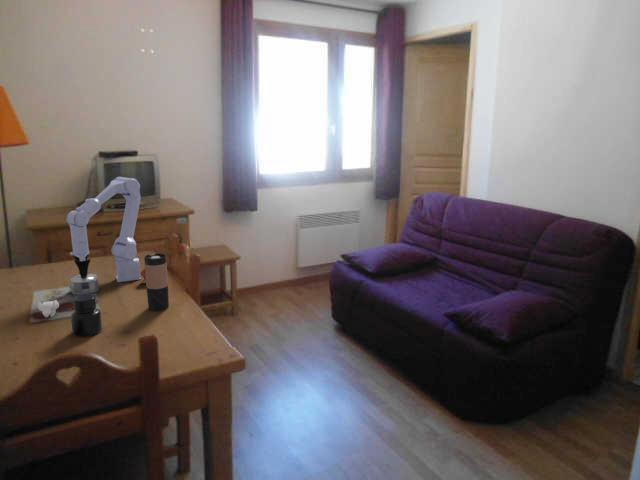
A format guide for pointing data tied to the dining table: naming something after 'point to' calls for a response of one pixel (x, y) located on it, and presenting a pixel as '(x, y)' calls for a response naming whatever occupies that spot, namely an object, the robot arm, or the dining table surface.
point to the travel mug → (156, 282)
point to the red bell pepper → (143, 275)
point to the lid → (84, 278)
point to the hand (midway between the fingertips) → (83, 273)
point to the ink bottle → (85, 316)
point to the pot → (84, 287)
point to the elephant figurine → (48, 308)
